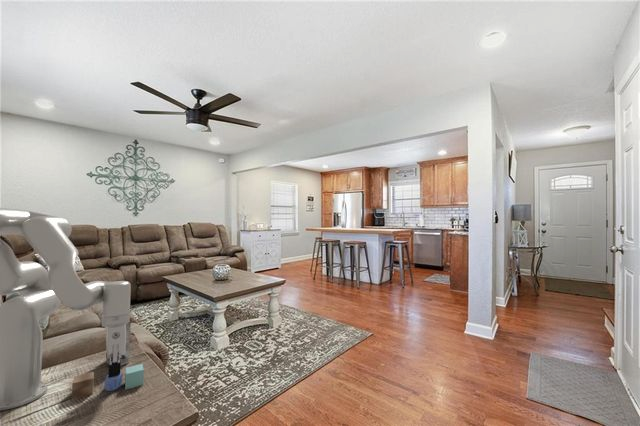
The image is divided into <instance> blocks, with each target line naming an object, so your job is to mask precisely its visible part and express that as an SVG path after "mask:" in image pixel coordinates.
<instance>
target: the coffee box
mask: <svg viewBox="0 0 640 426" xmlns="http://www.w3.org/2000/svg"><path fill="white" fill-rule="evenodd" d="M131 323H132V322H131V321H130V322H129V323H127V324H126V354H125V355H121V354H120V361H121V366H123V365H126V364H130V351H131V350H130V349H131V348H130V347H131V344H130V341H131V328H132V327H131ZM105 348H106V347H105ZM105 350H106V352H105V361H106V364H107V365H108V366H109V363H110V359H109V358H107V348H106V349H105Z"/></svg>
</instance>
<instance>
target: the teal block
mask: <svg viewBox="0 0 640 426" xmlns="http://www.w3.org/2000/svg"><path fill="white" fill-rule="evenodd" d="M124 370H125V373H124V386H125V387H124V388H125V390H129V389H132V388H136V387H140V386H143V385H144V379H145V378H144V376H145V375H144V373H145V370H144V364H143V363H141V364H136V365H133V366H127V367H125V369H124Z"/></svg>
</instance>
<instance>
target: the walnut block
mask: <svg viewBox="0 0 640 426" xmlns="http://www.w3.org/2000/svg"><path fill="white" fill-rule="evenodd" d="M94 378H95V371H91V372H87V373H84V374H82V373H81V374H78V375H75V376H73V380H72V385H71V387H72V388H71V401H72V400H76V399H80V398H84V397H87V396H88V397H89V396H91V395H93V393H94V392H93V391H94V382H95V381H94Z"/></svg>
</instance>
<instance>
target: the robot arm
mask: <svg viewBox="0 0 640 426" xmlns="http://www.w3.org/2000/svg"><path fill="white" fill-rule="evenodd" d="M72 229H73V228H72V225H71V224H70V222H69V221H68V220H67V219H65V218H64V217H60V216H55V215H51V214H45V213H39V212H36V211H35V212H34V211H31V210H25V209H19V208H18V209H16V208H3V207H0V236H5V235H7V236H8V235H10V236H12V235H17V236H23V237H24V239H25V240H26V241H27V242H28V244H29V245H30V246H31V247H32V249H33V250H34V251H35V252H36V253H37V256H39V257H40V259H41V260H42V262H44V264H45V265H46V267H47V269H46V268H45V266H43V264H40V263H38V262H36V261H32V260H29V261H28V260H25V261H19V259H18V258H17V256H16V255H15V252H14V250H13V249H12V248H11V247H10V245H9V244H8V243H7V242H6V241H4V240H3V239H2V238H1V237H0V296H7V295H12V294H16V293H19V295H17V296H14V297H12V298H9V299H8V300H5V301H4V302H3V303H2V304H1V305H0V411H6V410H10V409H15V408H18V407H22V406H23V405H27V404H29V403H31V402H33V401H35V400H37V399H39V398H41V397H42V396H43V395H44V394H46V392H47V391H48V386H47V384H45V383H41V382H42V381H41V380H42V365H43V364H42V360H43V344H44V343H43V342H44V341H43V340H44V338H43V337H44V335H43V333H44V332H43V329H42V326H41V325H40V320H43V319H44V318H46V317H49V316H51V315H53V314H54V313H55V312H57V311H58V309H59V308H60V307H61V303H62V304H63V305H64V306H65V307H67V308H68V309H69V310H72V311H84V310H86V309H88V308H90V307H93V306H95V305H97V304H100V303H102V319H101V327H103V328H106V334H105V340H106V341H105V343H106V344H105V345H106V347H105V348H107V358H109V359H110V363H109V365H108V368H107V369H108V374H107V376H108V377H113V376H117V375H120V373H121V366H122V365H121V361H120V354H121V355H125V354H126V324H127V323H129V322H131V321H130V319H131V316H130V315H131V312H130V311H131V294H132V293H131V290H132V289H131V288H132V287H131V286H132V285H131V282H129V281H127V280H116V281H107V280H106V281H105V280H104V281H103V280H93V281H89V282H86V283H84V282H83V281H82V279H81V278H80V276H78V273H77V271H76V267H75V265H76V264H75V263H76V260H77V259H78V256H79V250H78V249H77V247H76V246H75V245H74V244H73V242H72V241H71V240H70V238H69V237H70V236H71V234H72V231H73V230H72Z"/></svg>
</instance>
